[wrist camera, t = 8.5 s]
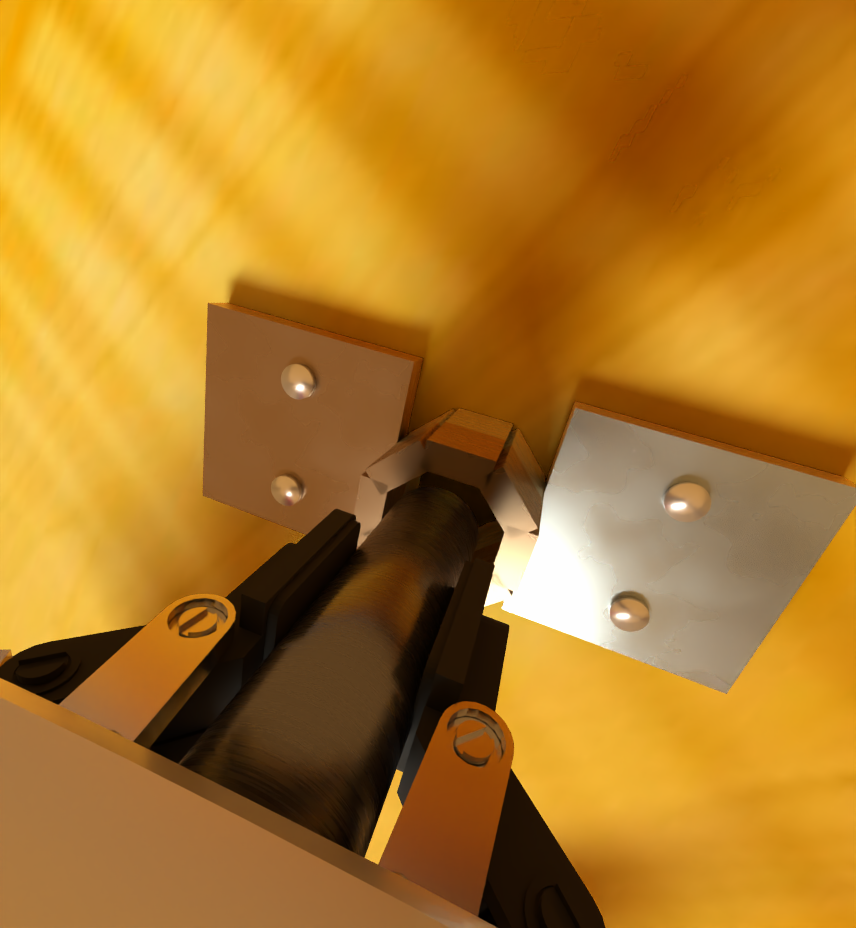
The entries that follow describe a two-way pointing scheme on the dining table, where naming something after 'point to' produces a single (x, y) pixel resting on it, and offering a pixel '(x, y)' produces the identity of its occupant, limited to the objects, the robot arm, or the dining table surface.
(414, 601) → the hinge pin
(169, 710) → the robot arm
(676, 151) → the dining table surface
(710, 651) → the hinge
